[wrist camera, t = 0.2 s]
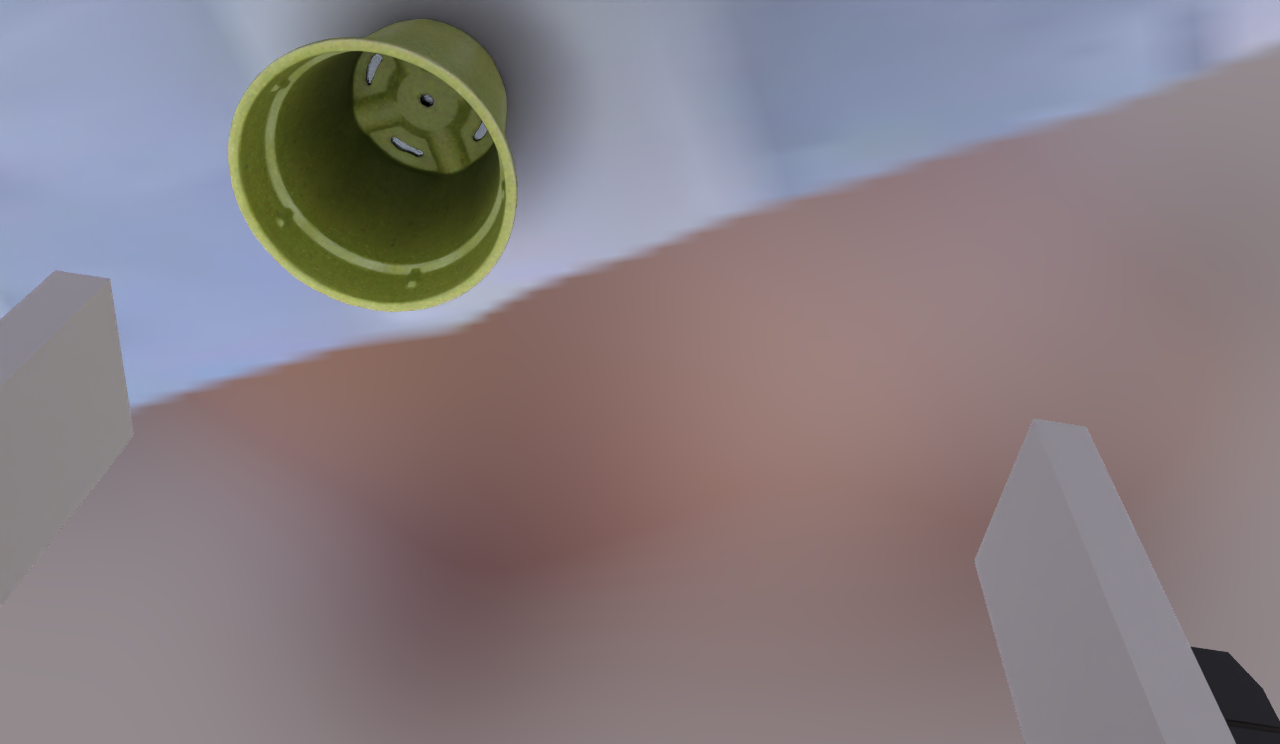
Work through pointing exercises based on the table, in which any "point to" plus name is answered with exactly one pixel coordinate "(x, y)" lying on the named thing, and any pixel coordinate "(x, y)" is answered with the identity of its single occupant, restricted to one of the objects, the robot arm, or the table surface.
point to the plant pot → (378, 166)
